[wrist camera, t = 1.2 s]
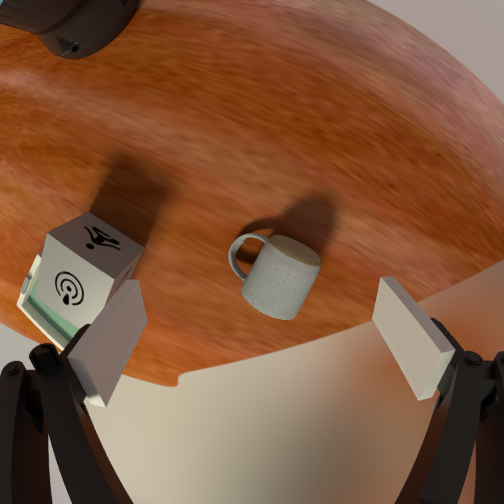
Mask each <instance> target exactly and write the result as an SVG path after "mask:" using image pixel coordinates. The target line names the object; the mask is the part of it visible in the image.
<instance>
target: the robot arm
mask: <svg viewBox="0 0 504 504" xmlns="http://www.w3.org/2000/svg"><path fill="white" fill-rule="evenodd" d="M136 5H137V0H0V24H3V25H7V26H10V27H14V28H17V29H20V30H24V31H27V32H30V33H33V34H36V35H37V36H38V38H39V39H40V40H41V41H42V43H43V44H44V45H45V46H46V47H47V49H48V50H49V51H50V52H51V53H53V54H54V55H57V56H59V57H62V58H65V59H80V58H84V57H87V56H89V55H92V54H94V53H96V52H97V51H99V50H101V49H102V48H104V47H105V46H106V45H108V44H109V43H110V42H111V41H112V40H114V39H115V38H116V37H117V36H118V35H119V34H120V32H121V31H122V30H123V29H124V28H125V26H126V25H127V24H128V22H129V20H130V19H131V17H132V15H133V13H134V11H135V8H136ZM372 320H373V321H374V323H375V325H376V326H377V328H378V330H379V331H380V333H381V335H382V336H383V338H384V340H385V342H386V343H387V345H388V347H389V348H390V350H391V352H392V354H393V355H394V357H395V359H396V361H397V362H398V364H399V366H400V368H401V370H402V371H403V373H404V375H405V377H406V379H407V380H408V382H409V384H410V386H411V388H412V390H413V392H414V394H415V395H416V398H417V399H418V401H419V400H423V399H427V398H430V397H432V396H433V394H434V392H435V390H436V388H438V390H439V391H440V395H439V397H438V399H437V400H436V402H435V404H434V405H433V407H432V409H431V410H433V409H434V412H433V415H432V418H431V421H430V424H429V427H428V430H427V432H426V435H425V438H424V441H423V443H422V446H421V449H420V451H419V453H418V456H417V458H416V461H415V463H414V465H413V467H412V470H411V472H410V474H409V476H408V478H407V480H406V483H405V484H404V487H403V488H402V490H401V492H400V494H399V496H398V498H397V500H396V502H395V504H457V503H458V500H459V497H460V494H461V491H462V488H463V485H464V482H465V478H466V475H467V472H468V468H469V464H470V460H471V456H472V452H473V448H474V443H475V441H476V481H475V497H474V504H504V351H502V352H499V353H497V355H496V357H495V359H494V361H484V360H483V359H482V357H481V356H480V355H478V354H477V353H475V352H472V351H464V350H463V348H462V347H461V346H460V345H459V343H458V342H457V341H456V340H455V339H454V337H453V336H451V334H450V333H449V331H447V330H446V328H445V327H444V326H443V324H442V323H440V322H439V321H437V320H436V319H434V318H429V317H428V316H427V314H426V313H425V312H424V311H423V310H422V309H421V307H420V306H419V305H418V304H417V303H416V302H415V301H414V299H413V298H412V297H411V296H410V295H409V294H408V293H407V292H406V291H405V289H404V288H403V287H402V286H401V285H400V284H399V283H398V282H397V281H396V280H395V279H394V277H393V276H390V277H381V278H380V284H379V289H378V294H377V299H376V303H375V308H374V312H373V317H372ZM147 322H148V321H147V317H146V313H145V308H144V303H143V299H142V294H141V289H140V284H139V280H127V279H126V281H125V282H124V283H123V284H122V286H121V287H120V288H119V289H118V290H117V292H116V293H115V294H114V295H113V297H112V298H111V299H110V300H109V302H108V303H107V304H106V306H105V307H104V308H103V309H102V311H101V312H100V313H99V315H98V316H97V317H96V318H95V320H94V321H93V322H92V324H86V325H84V326H83V327H81V328H80V329H79V330H78V331H77V332H76V334H75V335H74V337H73V338H72V339H71V340H70V342H69V343H68V344H67V346H66V347H65V348H64V350H63V351H62V352H61V354H60V355H59V354H58V352H57V349H56V348H55V346H54V345H53V344H50V343H44V344H40V345H38V346H36V347H35V348H34V349H33V350H32V351H31V352H30V354H29V359H30V360H31V363H32V364H33V366H34V368H35V370H26V368H25V366H24V365H23V363H22V362H20V361H13V362H10V363H8V364H7V365H6V366H5V367H4V368H3V370H2V372H1V375H0V504H52V495H51V486H50V473H49V454H48V453H49V452H48V433H49V437H50V440H51V445H52V448H53V451H54V454H55V458H56V461H57V464H58V467H59V470H60V473H61V476H62V479H63V482H64V484H65V487H66V490H67V492H68V495H69V497H70V499H71V502H72V504H133V502H132V500H131V499H130V497H129V495H128V494H127V492H126V490H125V488H124V487H123V485H122V483H121V481H120V480H119V478H118V476H117V474H116V472H115V471H114V468H113V467H112V465H111V463H110V461H109V459H108V457H107V455H106V452H105V450H104V448H103V446H102V444H101V442H100V440H99V437H98V435H97V433H96V430H95V428H94V426H93V423H92V421H91V419H90V416H89V413H88V411H87V408H86V406H85V404H84V402H83V401H84V399H85V397H86V395H87V397H88V399H89V401H90V403H91V404H93V405H97V406H102V407H106V406H107V404H108V402H109V400H110V398H111V395H112V393H113V391H114V389H115V387H116V385H117V383H118V381H119V378H120V376H121V374H122V372H123V370H124V368H125V366H126V364H127V362H128V360H129V358H130V356H131V354H132V352H133V350H134V348H135V346H136V344H137V342H138V340H139V338H140V336H141V334H142V332H143V330H144V328H145V326H146V324H147Z"/></svg>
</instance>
